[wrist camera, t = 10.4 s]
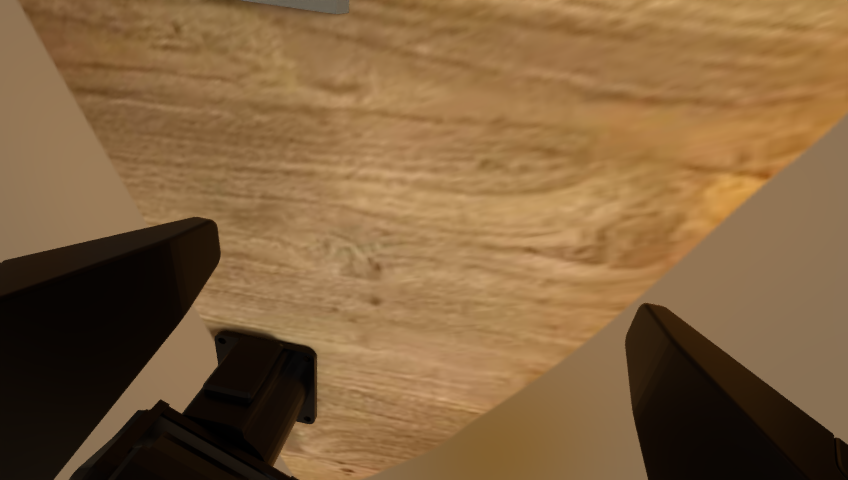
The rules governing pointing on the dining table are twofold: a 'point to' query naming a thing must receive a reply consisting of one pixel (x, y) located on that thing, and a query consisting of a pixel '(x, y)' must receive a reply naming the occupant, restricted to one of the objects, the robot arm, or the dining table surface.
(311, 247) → the dining table surface
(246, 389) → the robot arm
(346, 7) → the pocket board
